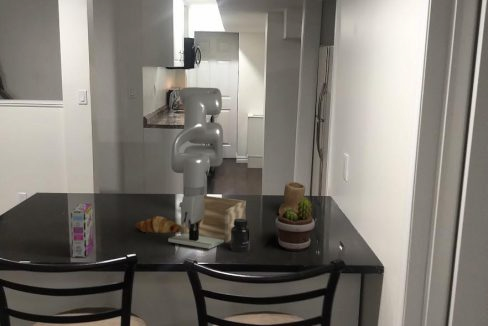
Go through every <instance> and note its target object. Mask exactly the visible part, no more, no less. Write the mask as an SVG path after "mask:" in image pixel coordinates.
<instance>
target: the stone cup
mask: <svg viewBox="0 0 488 326" xmlns="http://www.w3.org/2000/svg"><path fill="white" fill-rule="evenodd" d="M305 193H306V186H305V185H304V184H302V183H300V182H297V181H289V182H287V183H286V184H285V185H284V191H283V198H284V203H281V204H280V206H279V209H278V214H279V215H280V214H281V213H285V211H286V209H288V208H289V209H291V208H292V209H293V208H294V211H295V212H299V211H297V210H298V209H297V208H298V205H297V204H298V203H299V200H300V201H301V199H303V197H304V198H305V195H306V194H305ZM302 196H303V197H302ZM295 208H296V209H295Z"/></svg>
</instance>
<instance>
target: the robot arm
mask: <svg viewBox="0 0 488 326" xmlns="http://www.w3.org/2000/svg"><path fill="white" fill-rule="evenodd" d="M178 94H179V99H180V102H181V104H182V106H183V108H184V115H183V116H184V117H183V118H184V119H183V129H182V130H181V131H180V132H179V133H178V134H177V135H176V137H175V138H174V140H173V142H172V144H171V152H170V153H171V155H170V156H171V157H170V167H171V170H172V171H173V172H174V173H176V174H183V175H182V178H183V180H182V181H183V182H182V183H183V184H182V185H183V187H182V188H183V189H182V190H183V194H182V195H183V196H182V201H180V202H179V207H178V208H180V223H181V222H182V223H184V222H185V227H186V228H188V230H189V240H193V241H197V240H199V227H200V222H201V221H202V219H203V218H204V216H205V202H204V196H208V177H207V171H208V170H209V169H210V167H220V166H221V165H222V164H223V158H224V131H223V127H222V125H221V123H219V122H207V116H219V115H220V113H221V112H222V108H223V100H222V92H221V90H220V88H217V87H197V86H196V87H195V86H193V87H192V86H191V87H189V86H188V87H183V88H181V89H180V90H179V93H178ZM188 142H189V143H190V144H192V145H189V146H187V147H185V149H184V150H183V152H180V148H181V147H182V146H183V145H184V144H186V143H188ZM181 205H182V208H181Z"/></svg>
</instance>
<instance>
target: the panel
mask: <svg viewBox="0 0 488 326" xmlns="http://www.w3.org/2000/svg"><path fill="white" fill-rule="evenodd" d="M167 240H168V243H174V244H181V245H186V246H191V247H197V248H204V249H208V250H209V249H212V248H214V247H215V248H216V247H218V246H220V245H221V244H223V243H224V242H225V241H224V240H221V239H215V238H209V237H202V236H199V240H197V241H193V240H189V234H182V235H181V234H179V235H176V236H175V235H174V236H171V237H169V238H168V239H167Z"/></svg>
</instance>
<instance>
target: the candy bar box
mask: <svg viewBox="0 0 488 326" xmlns="http://www.w3.org/2000/svg"><path fill="white" fill-rule="evenodd" d="M93 213H94V211H93V203H78V204H77V205H76V206H75V208H74V209H72V210H71V211H70V222H71V223H70V224H71V225H70V226H71V254H72V255H71V256H72V258H75V257H84V258H87V257H88V255H89V254H88V253H90V252H91V251H92V249H93V248H94V225H93V223H94V222H93V221H94V219H93V218H94V217H93V216H94V215H93ZM92 247H93V248H92ZM90 250H91V251H90Z"/></svg>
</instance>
